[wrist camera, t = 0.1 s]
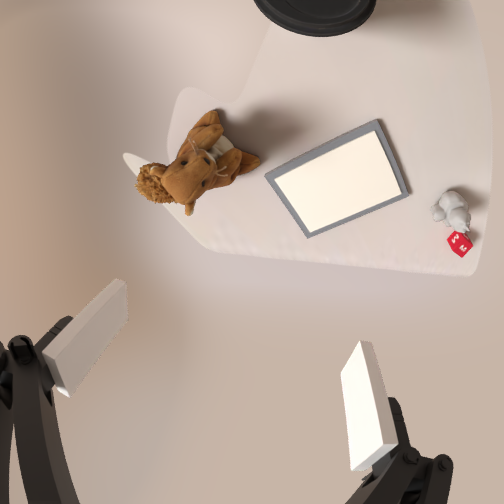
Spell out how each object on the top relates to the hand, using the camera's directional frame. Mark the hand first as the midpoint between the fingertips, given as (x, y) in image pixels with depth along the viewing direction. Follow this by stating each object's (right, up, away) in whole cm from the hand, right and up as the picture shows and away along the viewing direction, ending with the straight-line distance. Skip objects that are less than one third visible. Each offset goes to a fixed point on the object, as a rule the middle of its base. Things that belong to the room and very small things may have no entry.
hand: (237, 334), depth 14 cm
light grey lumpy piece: (+30, +12, +20) cm, 38 cm away
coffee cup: (+8, +32, +8) cm, 34 cm away
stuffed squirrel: (-6, +18, +23) cm, 30 cm away
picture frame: (+13, +14, +22) cm, 29 cm away
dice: (+35, +7, +23) cm, 43 cm away
